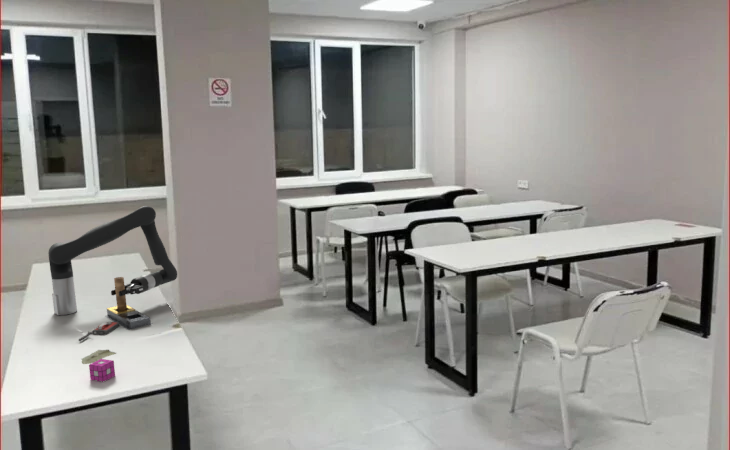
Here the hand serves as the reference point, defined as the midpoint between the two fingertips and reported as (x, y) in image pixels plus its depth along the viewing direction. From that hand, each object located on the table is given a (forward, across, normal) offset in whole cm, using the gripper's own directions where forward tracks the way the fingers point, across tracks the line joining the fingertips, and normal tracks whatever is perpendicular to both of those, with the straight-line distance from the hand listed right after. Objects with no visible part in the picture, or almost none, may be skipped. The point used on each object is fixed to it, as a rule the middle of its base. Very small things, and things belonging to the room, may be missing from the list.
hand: (115, 293), depth 276 cm
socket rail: (0, +6, +12) cm, 14 cm away
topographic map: (+38, +29, +13) cm, 50 cm away
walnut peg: (-3, 0, +10) cm, 10 cm away
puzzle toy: (+52, +44, +12) cm, 69 cm away
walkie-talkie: (+17, +7, +13) cm, 23 cm away
